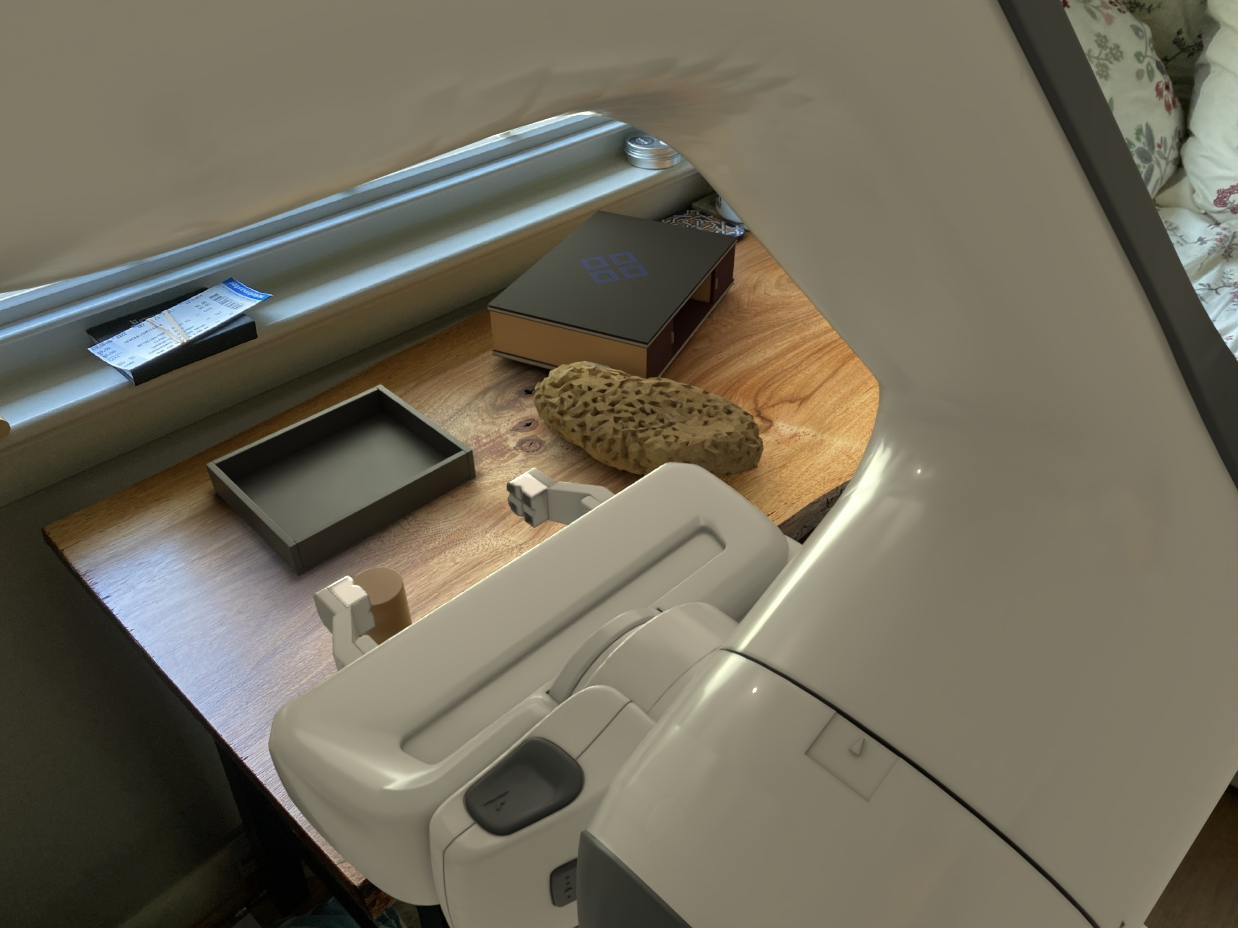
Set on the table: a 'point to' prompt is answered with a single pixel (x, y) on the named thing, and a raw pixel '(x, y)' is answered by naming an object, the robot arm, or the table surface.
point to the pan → (340, 476)
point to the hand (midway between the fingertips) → (431, 537)
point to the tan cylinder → (385, 601)
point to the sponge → (647, 421)
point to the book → (614, 296)
